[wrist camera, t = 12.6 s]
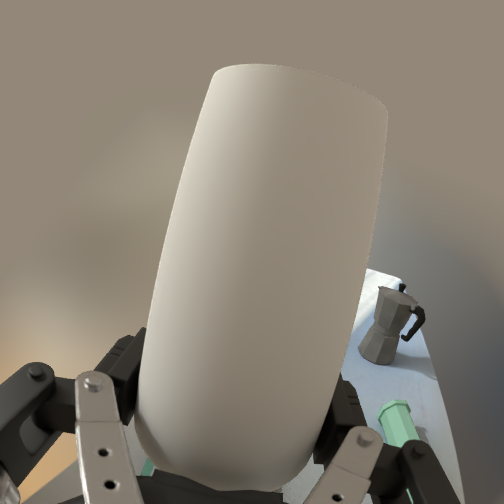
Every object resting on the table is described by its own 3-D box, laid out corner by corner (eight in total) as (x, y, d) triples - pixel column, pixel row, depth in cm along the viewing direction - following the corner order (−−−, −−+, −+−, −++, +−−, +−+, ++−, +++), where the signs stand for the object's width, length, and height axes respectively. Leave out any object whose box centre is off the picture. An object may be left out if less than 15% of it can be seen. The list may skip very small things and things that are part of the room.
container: (462, 518, 19) (411, 395, 43) (415, 535, 20) (377, 403, 44) (449, 535, 21) (407, 419, 45) (406, 550, 21) (375, 427, 45)
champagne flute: (222, 593, 10) (456, 83, 4) (125, 544, 12) (119, 51, 6) (261, 524, 16) (410, 144, 10) (176, 486, 18) (237, 109, 12)
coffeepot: (345, 341, 72) (369, 271, 67) (372, 338, 76) (396, 273, 71) (385, 379, 58) (419, 301, 53) (412, 372, 62) (443, 300, 57)
